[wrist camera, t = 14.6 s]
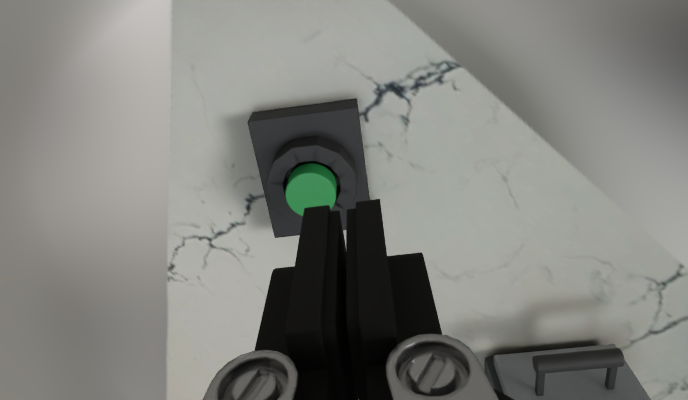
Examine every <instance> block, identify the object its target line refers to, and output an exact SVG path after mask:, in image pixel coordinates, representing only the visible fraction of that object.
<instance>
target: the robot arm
mask: <svg viewBox="0 0 688 400" xmlns="http://www.w3.org/2000/svg"><path fill="white" fill-rule="evenodd" d="M355 204H356V208H354V209H347V243H346V247H345V240H344V234H343V228H342V222H341V216H340V211H339V210H337V211H331V209H330V206H329V205H325V206H316V207H308V208H304V213H303V219H302V226H301V232H300V238H299V244H298V251H297V257H296V263H295V266H294V267H285V268H276V269H274V270H273V272H272V276H271V280H270V285H269V289H268V294H267V298H266V302H265V307H264V311H263V316H262V320H261V325H260V329H259V334H258V338H257V342H256V347H255V351H252V352H249V353H246V354H243V355H240V356H238V357H237V358H235V359H233V360H232V361H230V362H228V363H227V364H226V365H225V366H224V367H223V368H222V369H220V370H219V371H218V373H217V374H216V376H215V377H214V379H213V380H212V382H211V383H210V385H209V388H208V390H207V392H206V394H205V396H204V398H203V400H358V398H359V400H514V399H512V398H511V397H509V396H507V395H505V394H503V393H502V392H500V391H498V390H496V389H494V388H493V387H492V386H491V384H490V382H489V380H488V378H487V376H486V374H485V372H484V370H483V368H482V367H481V365H480V363H479V361H478V359H477V357H476V356H475V354H474V353H473V352H472V351H471V349H470V348H469V347H468V346H466V345H465V344H464V343H462V342H461V341H459V340H457V339H454V338H452V337H449V336H446V335H442V332H441V328H440V324H439V320H438V315H437V311H436V307H435V303H434V299H433V295H432V290H431V286H430V282H429V278H428V274H427V270H426V266H425V261H424V257H423V254H422V253H413V254H404V255H395V256H387V253H386V245H385V237H384V229H383V221H382V213H381V205H380V199H376V200H368V201H359V202H356V203H355Z"/></svg>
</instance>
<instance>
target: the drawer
mask: <svg viewBox="0 0 688 400" xmlns="http://www.w3.org/2000/svg"><path fill="white" fill-rule="evenodd" d="M494 366H495V369H496V372H497V375H498V378H499V381H500V384H501V387H502V389H503V392H504V394H505V395H507V396H509V397H511V398H512V399H514V400H651V399H650V397H649V396H648V394H647V393H646V391H645V390H644V388H643V387H642V385H641V384H640V382H639V381H638V379H637V378H636V376H635V375H634V373H633V372H632V370H631V369H630V367H629V366H628V364H627V363H626V361H625V360H624V356H623V353H622V351H621V350H620V349H619V348H617V347H616V346H615V344H609V345H599V346H588V347H577V348H567V349H556V350H546V351H535V352H524V353H514V354H503V355H494Z"/></svg>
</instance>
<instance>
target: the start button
mask: <svg viewBox="0 0 688 400" xmlns="http://www.w3.org/2000/svg"><path fill="white" fill-rule="evenodd" d="M336 186H337V185H336V180H335V177H334V175H333V174H332V172H331V171H330V170H329V169H327V168H326V167H324V166H322V165H320V164H316V163H307V164H303V165H300V166H298V167H297V168H296V169H294V170H293V171H292V173H291V174H290V176H289V179H288V182H287V187H286V191H285V197H286V201H287V203H288V205H289V207H290V208H291V209H292V210H293V211H294V212H295V213H297V214H299V215H301V216H303V213H304V208H308V207H316V206H325V205H329V206H330V209H331V208H332V207H333V205H334V203H335V200H336Z"/></svg>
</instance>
